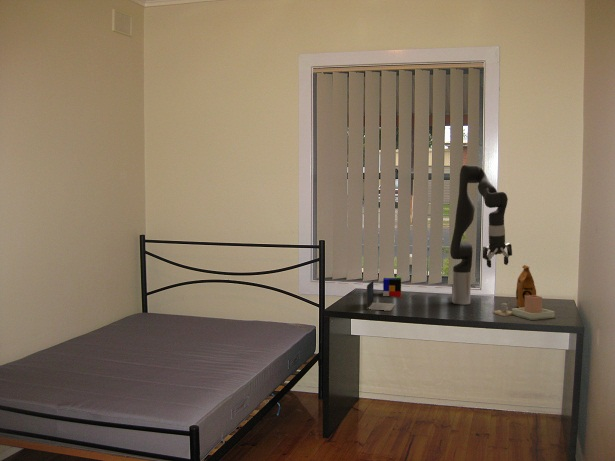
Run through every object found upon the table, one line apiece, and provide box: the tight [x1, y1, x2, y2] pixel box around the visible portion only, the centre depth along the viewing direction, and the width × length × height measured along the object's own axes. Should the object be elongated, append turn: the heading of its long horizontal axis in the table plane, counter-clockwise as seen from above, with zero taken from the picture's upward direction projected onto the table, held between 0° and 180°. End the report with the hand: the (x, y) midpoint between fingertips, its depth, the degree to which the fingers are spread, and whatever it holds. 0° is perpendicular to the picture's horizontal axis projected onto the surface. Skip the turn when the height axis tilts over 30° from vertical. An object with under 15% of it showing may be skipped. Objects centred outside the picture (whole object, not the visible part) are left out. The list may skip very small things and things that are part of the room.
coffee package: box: [515, 264, 537, 308], centre depth 328 cm, size 10×12×22 cm
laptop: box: [366, 280, 396, 312], centre depth 334 cm, size 18×12×13 cm
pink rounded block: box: [524, 294, 543, 313], centre depth 310 cm, size 6×7×9 cm
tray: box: [511, 307, 556, 321], centre depth 310 cm, size 14×14×3 cm
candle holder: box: [492, 302, 514, 317], centre depth 316 cm, size 8×8×5 cm
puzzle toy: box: [382, 276, 402, 298], centre depth 368 cm, size 10×10×10 cm
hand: (497, 265), depth 308 cm, fingers open, 8 cm apart
